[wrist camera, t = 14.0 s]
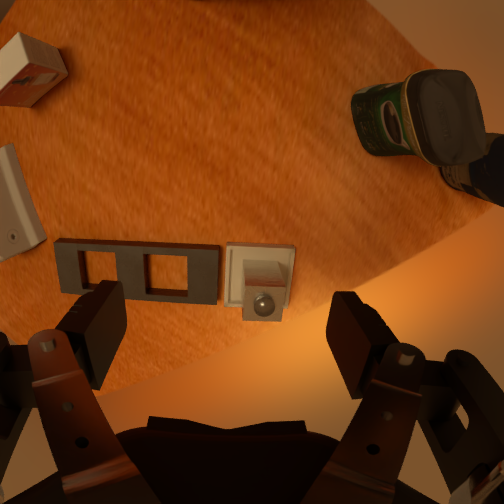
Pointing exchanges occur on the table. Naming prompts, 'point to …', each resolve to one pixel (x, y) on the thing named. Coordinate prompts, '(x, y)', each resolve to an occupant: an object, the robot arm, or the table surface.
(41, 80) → the small box
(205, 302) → the rack rail
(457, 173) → the canister
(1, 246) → the beige device enclosure
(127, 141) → the table surface
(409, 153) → the coffee jar
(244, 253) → the parts tray
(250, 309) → the grey rectangular block
